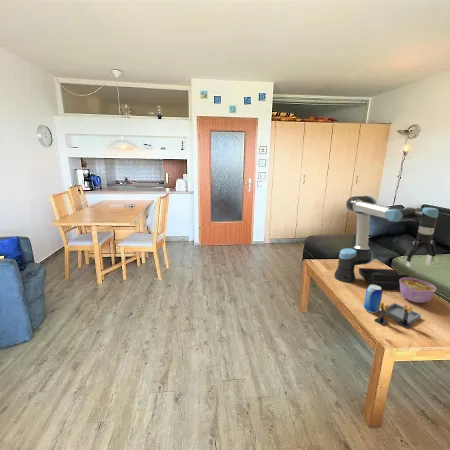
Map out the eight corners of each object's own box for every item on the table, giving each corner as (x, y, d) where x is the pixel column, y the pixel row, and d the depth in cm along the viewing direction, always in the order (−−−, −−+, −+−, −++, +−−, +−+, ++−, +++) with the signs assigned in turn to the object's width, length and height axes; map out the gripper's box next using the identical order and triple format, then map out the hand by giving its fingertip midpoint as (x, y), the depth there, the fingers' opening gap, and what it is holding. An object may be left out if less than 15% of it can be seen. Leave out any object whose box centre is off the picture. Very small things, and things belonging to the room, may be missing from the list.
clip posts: (374, 321, 149) (377, 303, 146) (387, 314, 156) (390, 297, 153) (398, 333, 138) (402, 315, 135) (411, 325, 145) (415, 308, 142)
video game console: (393, 276, 209) (396, 264, 206) (412, 291, 185) (415, 278, 182) (357, 274, 211) (359, 263, 209) (371, 289, 187) (373, 276, 185)
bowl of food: (398, 289, 186) (401, 274, 183) (433, 298, 174) (436, 283, 171) (394, 300, 171) (397, 284, 168) (432, 311, 159) (436, 295, 156)
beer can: (371, 314, 155) (375, 291, 151) (360, 307, 163) (364, 284, 159) (382, 312, 157) (386, 289, 153) (371, 305, 165) (375, 283, 161)
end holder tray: (380, 312, 157) (381, 309, 157) (393, 306, 165) (394, 302, 164) (407, 326, 145) (408, 322, 144) (420, 318, 152) (421, 314, 151)
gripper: (412, 235, 149) (405, 269, 155) (449, 234, 153) (441, 267, 158) (402, 232, 156) (395, 264, 162) (437, 231, 160) (430, 262, 165)
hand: (418, 265), depth 160 cm, fingers open, 13 cm apart
